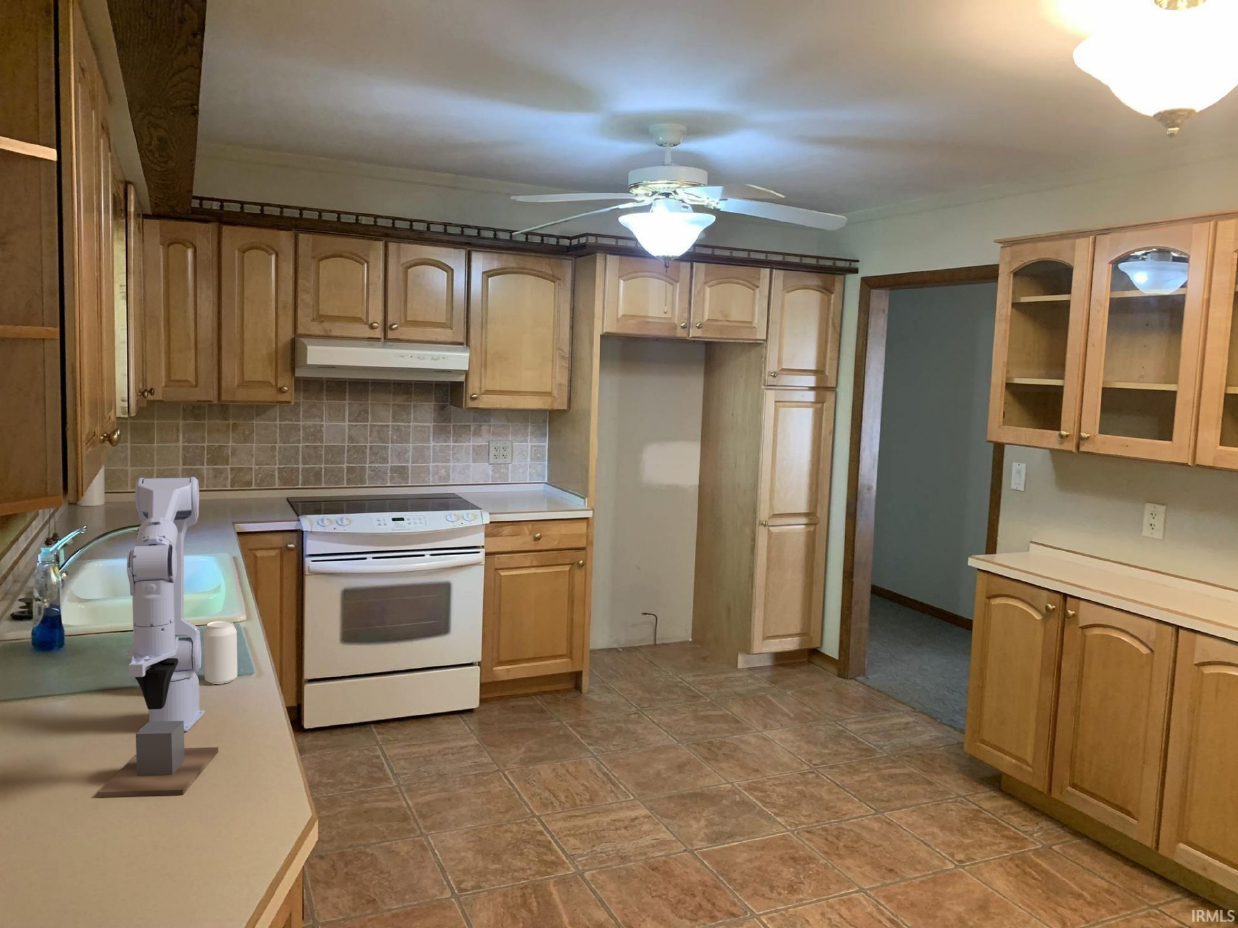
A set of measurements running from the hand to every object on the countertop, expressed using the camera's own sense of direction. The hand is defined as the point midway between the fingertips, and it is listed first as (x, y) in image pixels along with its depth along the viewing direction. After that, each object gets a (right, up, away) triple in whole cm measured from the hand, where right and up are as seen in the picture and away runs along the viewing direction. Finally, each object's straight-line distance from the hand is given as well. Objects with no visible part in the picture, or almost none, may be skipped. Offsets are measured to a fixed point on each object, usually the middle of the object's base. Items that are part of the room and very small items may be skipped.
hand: (156, 707), depth 143 cm
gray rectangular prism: (+1, -10, 0) cm, 10 cm away
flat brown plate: (+1, -10, 0) cm, 10 cm away
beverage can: (-9, -7, +45) cm, 46 cm away
